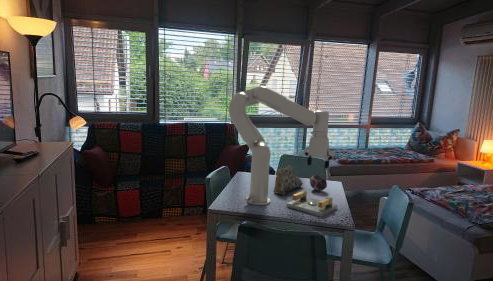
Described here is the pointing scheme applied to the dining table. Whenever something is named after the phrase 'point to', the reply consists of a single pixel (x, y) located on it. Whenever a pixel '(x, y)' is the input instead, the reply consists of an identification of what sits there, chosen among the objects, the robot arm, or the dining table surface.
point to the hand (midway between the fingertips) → (317, 166)
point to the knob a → (300, 195)
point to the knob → (325, 202)
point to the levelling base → (311, 206)
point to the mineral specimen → (318, 182)
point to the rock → (286, 180)
